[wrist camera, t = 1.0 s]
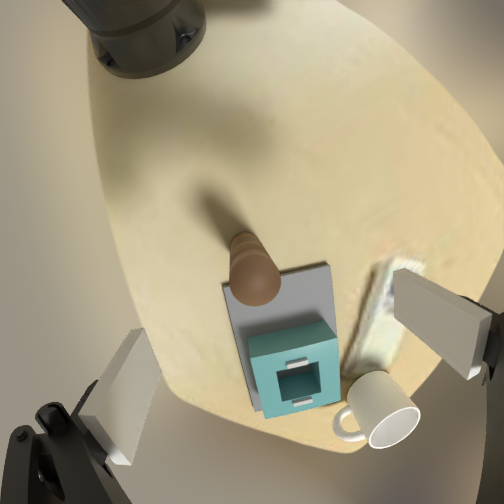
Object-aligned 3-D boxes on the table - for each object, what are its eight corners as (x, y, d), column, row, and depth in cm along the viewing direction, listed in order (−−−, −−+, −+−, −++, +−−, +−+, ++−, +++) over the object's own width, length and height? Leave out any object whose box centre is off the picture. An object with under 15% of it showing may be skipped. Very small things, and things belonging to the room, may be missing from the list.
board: (223, 285, 34) (223, 288, 33) (327, 263, 34) (330, 265, 33) (254, 407, 38) (254, 411, 37) (337, 387, 38) (339, 391, 37)
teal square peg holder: (247, 337, 34) (250, 360, 29) (324, 319, 35) (339, 339, 29) (261, 395, 36) (265, 421, 31) (329, 379, 37) (341, 402, 31)
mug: (329, 423, 40) (347, 466, 30) (318, 392, 38) (338, 439, 28) (392, 393, 40) (419, 430, 30) (387, 360, 38) (420, 397, 28)
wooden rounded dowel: (227, 235, 33) (224, 262, 19) (257, 229, 33) (276, 252, 19) (233, 265, 34) (235, 311, 20) (263, 259, 34) (284, 300, 20)
